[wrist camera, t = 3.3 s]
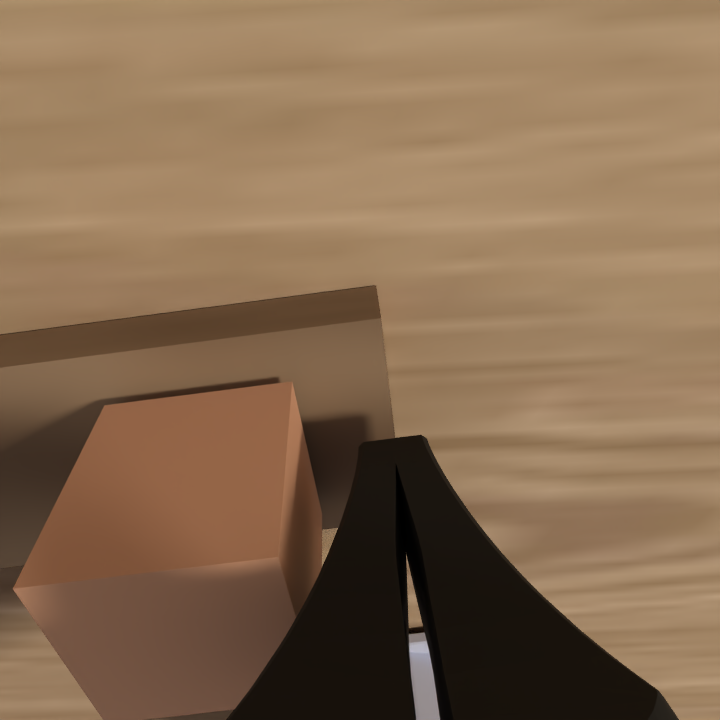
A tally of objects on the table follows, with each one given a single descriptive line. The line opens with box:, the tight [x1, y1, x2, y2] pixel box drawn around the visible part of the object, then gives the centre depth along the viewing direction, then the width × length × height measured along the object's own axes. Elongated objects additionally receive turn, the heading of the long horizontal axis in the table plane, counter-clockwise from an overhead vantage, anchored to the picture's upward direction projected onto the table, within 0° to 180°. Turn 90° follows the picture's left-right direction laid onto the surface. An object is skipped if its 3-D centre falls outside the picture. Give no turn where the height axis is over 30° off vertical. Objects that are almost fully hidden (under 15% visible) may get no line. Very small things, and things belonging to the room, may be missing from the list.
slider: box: [13, 381, 322, 720], centre depth 12 cm, size 4×4×4 cm
